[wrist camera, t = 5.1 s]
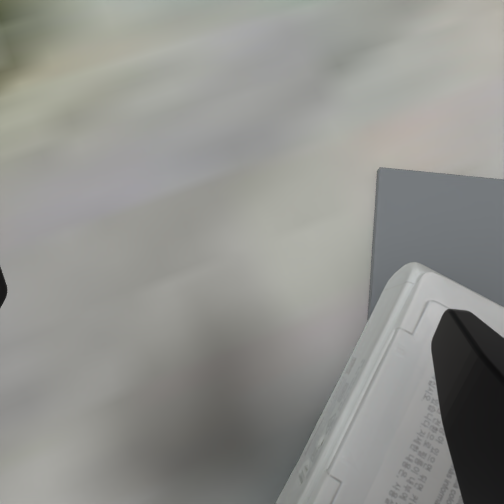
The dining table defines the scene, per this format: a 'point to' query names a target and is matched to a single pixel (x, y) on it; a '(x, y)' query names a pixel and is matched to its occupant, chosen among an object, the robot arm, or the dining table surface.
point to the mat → (439, 229)
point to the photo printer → (389, 404)
